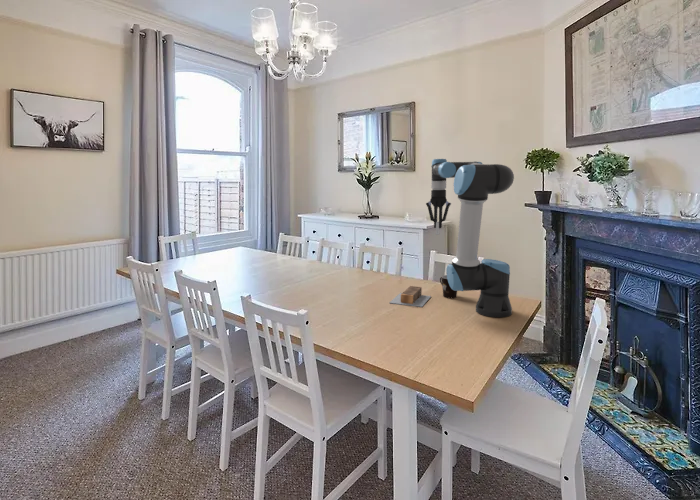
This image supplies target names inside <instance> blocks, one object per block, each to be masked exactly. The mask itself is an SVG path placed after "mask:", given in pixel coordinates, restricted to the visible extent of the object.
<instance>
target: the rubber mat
mask: <svg viewBox="0 0 700 500" xmlns="http://www.w3.org/2000/svg"><path fill="white" fill-rule="evenodd" d="M402 293H403V292H400V293H399V294H397V295H396V296H395V297H394V298H393V299H391V300H390V301H389V304H393V305H401V306H402V305H403V306H408V307H416V308H417V307H419V308H423V307H424V305H426V303H427V302H428V301H429V300H430V299H431V297H432V296H431V295H424V294H421V296H420V297H419V298H418V299H417V300H416V301H415V302H414V303H413V304H410V303H401V294H402Z"/></svg>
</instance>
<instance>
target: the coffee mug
mask: <svg viewBox="0 0 700 500" xmlns="http://www.w3.org/2000/svg"><path fill="white" fill-rule="evenodd" d="M439 282H440V284H441V287H442V295H443V296H442V297H443V298H445V299H456V298H457V296H458V291H454V290H452V289H451V287H450V285H449V283H448V279H447V274H444V275H442V276H441V277H440V278H439Z"/></svg>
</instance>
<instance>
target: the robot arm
mask: <svg viewBox="0 0 700 500" xmlns="http://www.w3.org/2000/svg"><path fill="white" fill-rule="evenodd" d="M451 178H453V179H454V180H453V192H454V193H455V195H457V199H458V200H459V201H460V202H461V203H460V212H459V221H458V222H459V223H458V224H459V225H458V233H457V242H456V255H455V256H454V257H453V258H452V259H451V263H449V264H447V266H446V269H445V270H446V275H447V279H448V283H449V285H450V287H451V289H452V290H454V291H457V292H458V291H459V292H466V291H467V292H468V291H471V292H472V291H480V294H479V297H478V300H477V302H476V305H475V312H476V313H477V314H479V315H482V316H483V317H490V318H506V317H510V316H511V315H512V312H513V308H512V304H511V300H510V297H509V289H510V275H511V267H510V265H509V263H507V262H505V261H501V260H498V259H491V258H483V259H482V260H481V261H480V260H479V258H478V251H479V241H480V235H481V227H482V226H481V225H482V215H483V207H484V203H486V202H487V200H488V199H489V195H493V194H494V195H495V194H501V193H503V192H506V191H507V190H509V188H510V187H511V186H512V184H513V183H514V179H515V174H514V172H513V170H512V169H511V167H509V166H507V165H505V164H504V165H503V164H500V163H499V164H498V163H497V164H496V163H495V164H489V163H487V164H483V162H481V161H448V160H447V159H446V158H434V159H432V161H431V185H430V186H431V187H430V188H431V189H432V190H431V193H430V195H431V196H430V200H429V201H428V202H426V203H425V205H426V207H427V210H428V214H429V218H430V221H431V222H433V228H434V229H435V235H436V236H437V235H440V234H441V229H442V227H443V222H445V221H446V220H447V216H448V212H449V208H450V207H451V205H452V203H451V202H449V201H448V199H447V190H446V189H447V179H451ZM432 206H433V209H432ZM444 206H445V209H444V213H443V207H444Z"/></svg>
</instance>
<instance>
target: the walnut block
mask: <svg viewBox="0 0 700 500" xmlns="http://www.w3.org/2000/svg"><path fill="white" fill-rule="evenodd" d="M422 289H423V288H422V286H415V285H414V286H413V285H409V286H408V287H407V288H406V289H405V290H403V292H401V293H402V294H401V303H410V304H413V303H414V302H415V301H416V300H417V299H418V298H419V297H420V296H421V295H422V293H423V292H422Z"/></svg>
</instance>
